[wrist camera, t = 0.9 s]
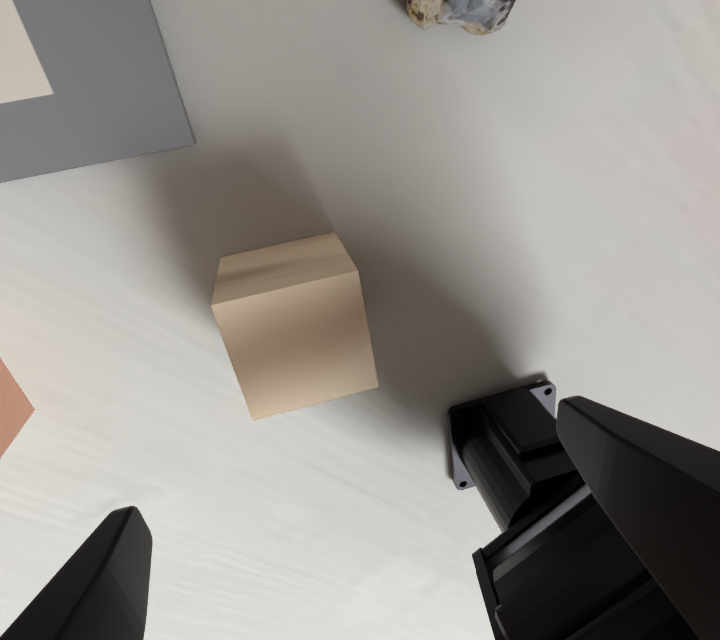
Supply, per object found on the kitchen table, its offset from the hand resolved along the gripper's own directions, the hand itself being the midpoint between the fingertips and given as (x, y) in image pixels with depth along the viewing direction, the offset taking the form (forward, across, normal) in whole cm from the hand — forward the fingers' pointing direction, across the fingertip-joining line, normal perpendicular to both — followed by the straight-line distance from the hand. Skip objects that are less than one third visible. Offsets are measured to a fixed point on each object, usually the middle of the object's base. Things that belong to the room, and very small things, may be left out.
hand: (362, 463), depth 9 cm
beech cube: (+12, +1, +1) cm, 12 cm away
